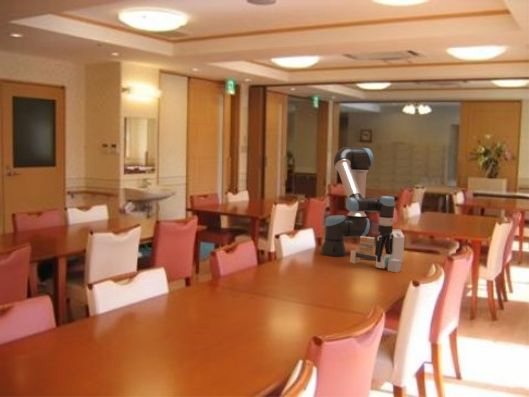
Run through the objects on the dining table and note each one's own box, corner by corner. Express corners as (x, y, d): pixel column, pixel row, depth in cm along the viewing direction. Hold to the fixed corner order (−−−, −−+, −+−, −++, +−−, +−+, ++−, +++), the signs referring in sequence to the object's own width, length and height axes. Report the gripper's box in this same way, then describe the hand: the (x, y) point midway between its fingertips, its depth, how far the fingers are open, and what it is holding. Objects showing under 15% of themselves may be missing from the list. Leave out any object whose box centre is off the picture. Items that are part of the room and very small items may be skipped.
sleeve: (375, 266, 308) (376, 254, 307) (382, 265, 313) (382, 253, 312) (383, 268, 305) (384, 255, 304) (390, 266, 309) (390, 254, 308)
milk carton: (385, 260, 330) (387, 228, 329) (395, 260, 334) (397, 228, 332) (392, 263, 324) (395, 230, 322) (402, 262, 327) (405, 230, 325)
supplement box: (358, 259, 332) (359, 237, 330) (359, 257, 336) (360, 235, 335) (372, 260, 329) (374, 238, 328) (373, 259, 334) (374, 237, 333)
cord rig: (350, 262, 321) (350, 250, 320) (355, 261, 324) (355, 249, 323) (395, 272, 300) (396, 259, 300) (400, 271, 304) (401, 258, 303)
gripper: (381, 227, 297) (378, 270, 299) (401, 224, 311) (398, 265, 313) (369, 225, 302) (366, 267, 304) (389, 222, 316) (386, 263, 318)
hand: (382, 266), depth 309 cm, fingers closed on sleeve, 6 cm apart
